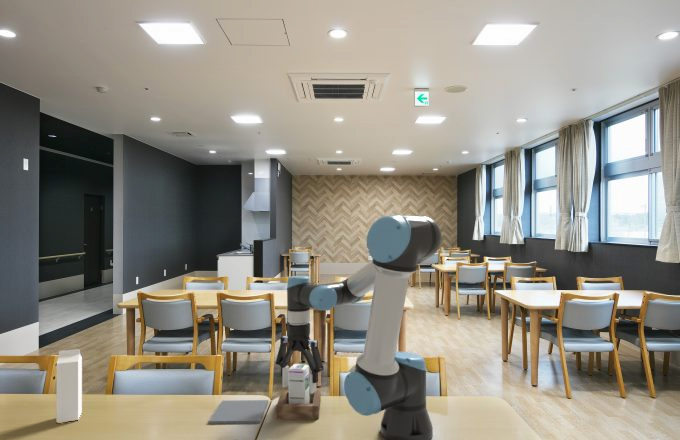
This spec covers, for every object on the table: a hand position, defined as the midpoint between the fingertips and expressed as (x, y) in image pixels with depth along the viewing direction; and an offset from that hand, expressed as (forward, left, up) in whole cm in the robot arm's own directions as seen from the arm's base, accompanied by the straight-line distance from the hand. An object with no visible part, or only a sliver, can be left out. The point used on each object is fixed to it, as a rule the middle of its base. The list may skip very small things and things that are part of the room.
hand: (299, 389), depth 145 cm
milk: (+61, +41, -7) cm, 74 cm away
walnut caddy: (0, 0, -7) cm, 7 cm away
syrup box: (0, 0, -7) cm, 7 cm away
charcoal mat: (+16, +11, -7) cm, 21 cm away
